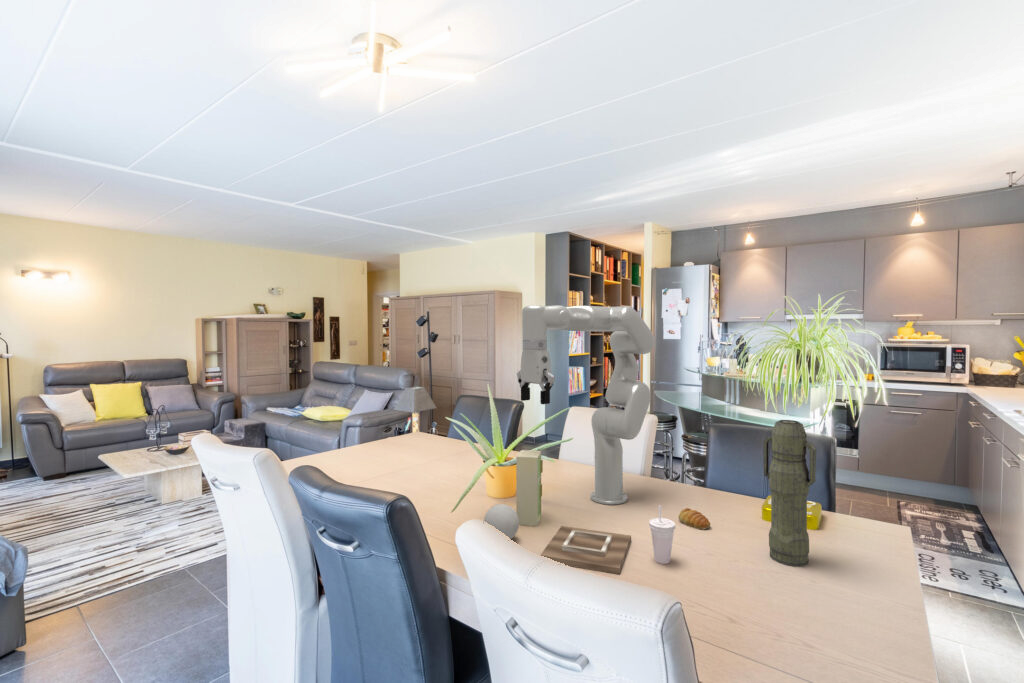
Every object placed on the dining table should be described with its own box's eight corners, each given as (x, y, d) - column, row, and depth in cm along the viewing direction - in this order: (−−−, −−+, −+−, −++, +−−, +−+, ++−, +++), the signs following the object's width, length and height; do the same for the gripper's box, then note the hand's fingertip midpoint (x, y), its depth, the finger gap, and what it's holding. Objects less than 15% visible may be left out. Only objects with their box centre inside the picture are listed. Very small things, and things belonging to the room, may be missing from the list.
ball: (524, 536, 141) (524, 501, 141) (510, 550, 132) (510, 513, 132) (493, 531, 145) (493, 497, 145) (477, 544, 136) (476, 508, 136)
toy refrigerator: (540, 527, 148) (539, 457, 147) (516, 525, 149) (515, 456, 149) (544, 517, 155) (543, 450, 155) (521, 515, 157) (520, 449, 156)
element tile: (768, 506, 163) (768, 492, 163) (822, 516, 154) (822, 501, 154) (760, 521, 151) (760, 505, 151) (818, 532, 142) (818, 516, 142)
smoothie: (645, 555, 128) (645, 501, 128) (669, 554, 129) (669, 500, 129) (654, 567, 122) (654, 510, 122) (679, 565, 123) (679, 509, 122)
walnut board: (561, 530, 144) (561, 521, 144) (631, 540, 137) (631, 531, 137) (540, 560, 126) (540, 550, 126) (619, 574, 119) (619, 563, 118)
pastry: (716, 528, 146) (716, 515, 146) (699, 533, 143) (699, 520, 143) (692, 517, 154) (691, 505, 154) (675, 521, 151) (675, 509, 151)
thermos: (812, 572, 119) (812, 427, 118) (758, 557, 126) (759, 421, 125) (819, 559, 125) (819, 421, 124) (768, 546, 133) (768, 416, 132)
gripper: (562, 346, 146) (563, 404, 146) (527, 345, 160) (527, 398, 160) (542, 347, 142) (543, 406, 142) (508, 345, 156) (508, 400, 156)
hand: (535, 402), depth 151 cm, fingers open, 9 cm apart
